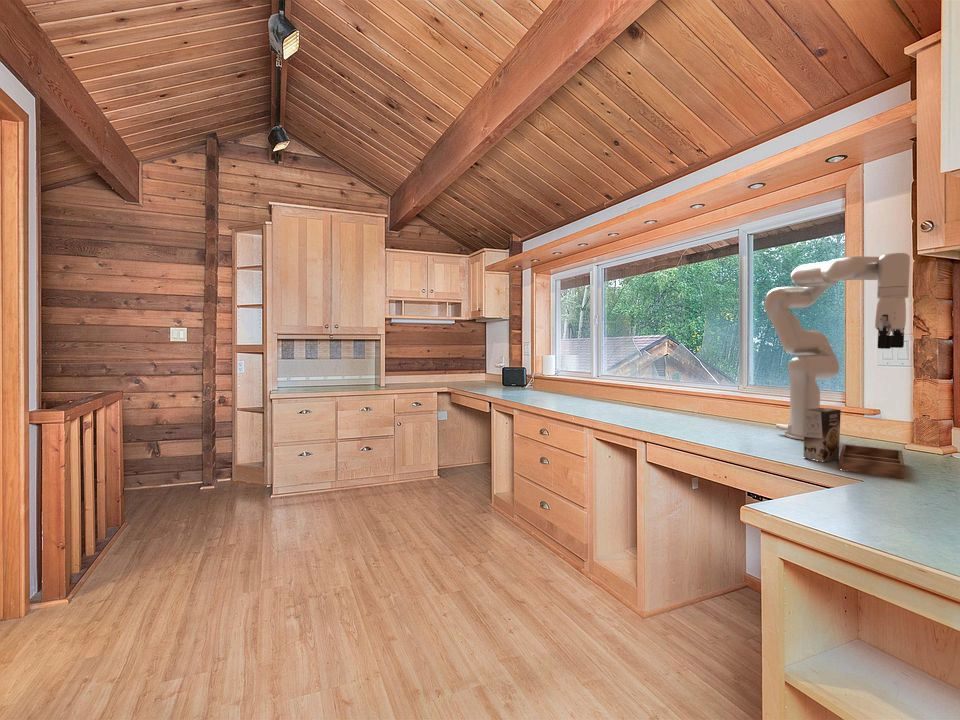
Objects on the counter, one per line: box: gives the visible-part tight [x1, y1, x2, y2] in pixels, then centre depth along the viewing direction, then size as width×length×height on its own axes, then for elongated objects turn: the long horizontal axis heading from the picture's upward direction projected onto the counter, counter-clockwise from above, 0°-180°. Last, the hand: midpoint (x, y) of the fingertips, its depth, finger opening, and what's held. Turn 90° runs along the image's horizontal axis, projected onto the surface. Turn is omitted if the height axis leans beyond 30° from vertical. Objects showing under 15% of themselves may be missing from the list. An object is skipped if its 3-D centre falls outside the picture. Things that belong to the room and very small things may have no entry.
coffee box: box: [802, 407, 842, 463], centre depth 158 cm, size 9×6×16 cm
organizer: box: [838, 443, 905, 480], centre depth 149 cm, size 15×20×4 cm
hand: (890, 348), depth 156 cm, fingers open, 9 cm apart
